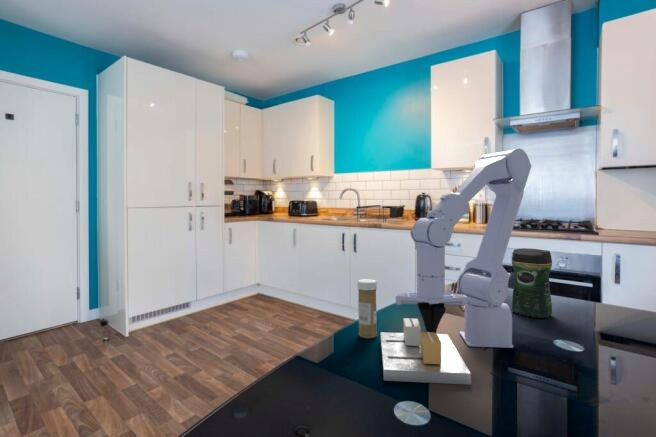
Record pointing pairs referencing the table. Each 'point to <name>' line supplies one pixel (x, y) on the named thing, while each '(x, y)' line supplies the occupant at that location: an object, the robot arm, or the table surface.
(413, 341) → the fader knob white
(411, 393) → the table surface
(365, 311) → the sprinkles bottle
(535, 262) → the coffee jar
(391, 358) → the fader panel
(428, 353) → the fader knob orange
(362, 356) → the table surface
